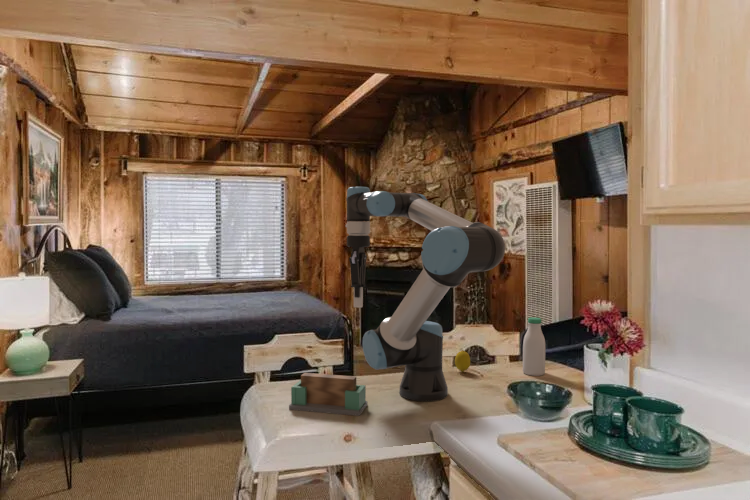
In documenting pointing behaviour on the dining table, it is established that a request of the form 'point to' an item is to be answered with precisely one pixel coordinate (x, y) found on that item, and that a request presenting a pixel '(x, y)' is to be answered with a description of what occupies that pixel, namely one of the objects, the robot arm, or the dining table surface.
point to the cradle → (353, 405)
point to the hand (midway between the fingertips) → (358, 306)
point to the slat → (327, 388)
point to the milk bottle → (534, 349)
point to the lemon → (462, 361)
